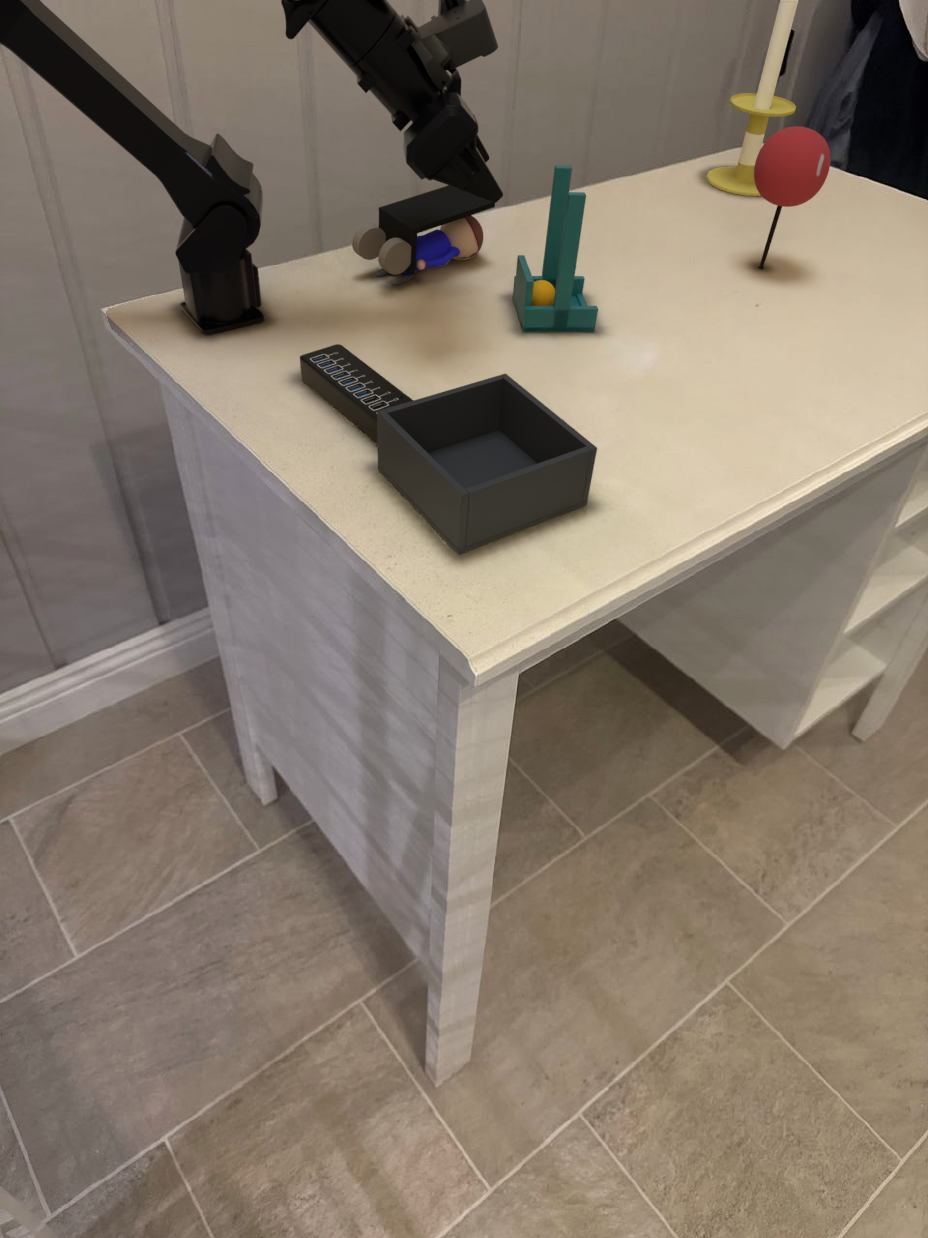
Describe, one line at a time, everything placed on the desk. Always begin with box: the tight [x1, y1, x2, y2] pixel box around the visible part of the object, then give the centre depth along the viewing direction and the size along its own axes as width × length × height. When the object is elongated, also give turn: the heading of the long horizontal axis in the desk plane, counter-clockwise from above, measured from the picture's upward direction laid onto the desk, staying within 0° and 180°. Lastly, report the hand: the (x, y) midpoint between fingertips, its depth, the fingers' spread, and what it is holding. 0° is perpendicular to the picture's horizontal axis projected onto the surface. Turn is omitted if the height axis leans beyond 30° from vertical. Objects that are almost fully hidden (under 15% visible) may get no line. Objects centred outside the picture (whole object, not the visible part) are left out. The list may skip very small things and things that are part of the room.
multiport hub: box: [299, 343, 415, 445], centre depth 81 cm, size 4×14×2 cm, turn 38°
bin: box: [377, 373, 598, 555], centre depth 72 cm, size 12×12×6 cm
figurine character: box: [351, 185, 496, 286], centre depth 99 cm, size 7×8×15 cm
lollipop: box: [754, 125, 831, 270], centre depth 101 cm, size 8×8×15 cm
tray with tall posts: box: [511, 164, 599, 333], centre depth 91 cm, size 7×7×14 cm
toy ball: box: [531, 280, 555, 306], centre depth 94 cm, size 3×3×3 cm
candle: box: [705, 0, 799, 197], centre depth 117 cm, size 10×10×27 cm
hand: (492, 179), depth 85 cm, fingers open, 9 cm apart
